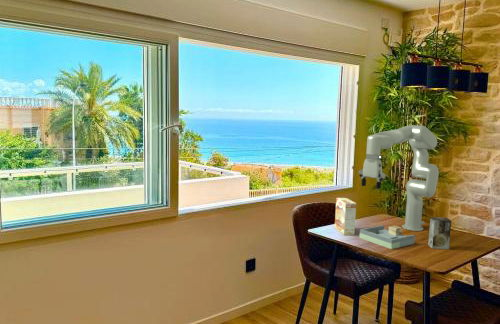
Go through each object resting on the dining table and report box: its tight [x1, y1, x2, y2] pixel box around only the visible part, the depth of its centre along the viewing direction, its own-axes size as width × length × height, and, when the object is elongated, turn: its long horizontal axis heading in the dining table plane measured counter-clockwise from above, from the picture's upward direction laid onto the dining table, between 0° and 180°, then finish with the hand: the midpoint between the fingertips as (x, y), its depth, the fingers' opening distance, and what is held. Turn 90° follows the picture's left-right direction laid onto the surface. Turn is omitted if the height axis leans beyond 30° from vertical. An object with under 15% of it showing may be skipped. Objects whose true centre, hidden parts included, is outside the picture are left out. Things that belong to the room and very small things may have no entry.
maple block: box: [388, 225, 403, 236], centre depth 228 cm, size 5×5×4 cm
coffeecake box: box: [334, 197, 357, 236], centre depth 239 cm, size 15×7×20 cm, turn 9°
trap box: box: [359, 224, 416, 250], centre depth 225 cm, size 20×22×5 cm
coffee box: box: [427, 216, 452, 250], centre depth 216 cm, size 9×6×16 cm
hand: (370, 187), depth 225 cm, fingers open, 9 cm apart
